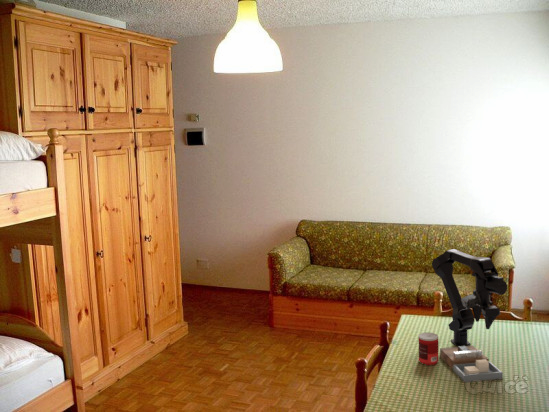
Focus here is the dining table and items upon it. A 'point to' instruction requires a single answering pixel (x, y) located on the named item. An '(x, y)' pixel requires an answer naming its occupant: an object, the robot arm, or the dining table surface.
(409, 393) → the dining table surface
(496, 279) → the robot arm
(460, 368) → the box
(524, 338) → the dining table surface
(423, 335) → the canned food
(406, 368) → the dining table surface
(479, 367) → the tile
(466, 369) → the tile
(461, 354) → the scraper
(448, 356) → the plate
